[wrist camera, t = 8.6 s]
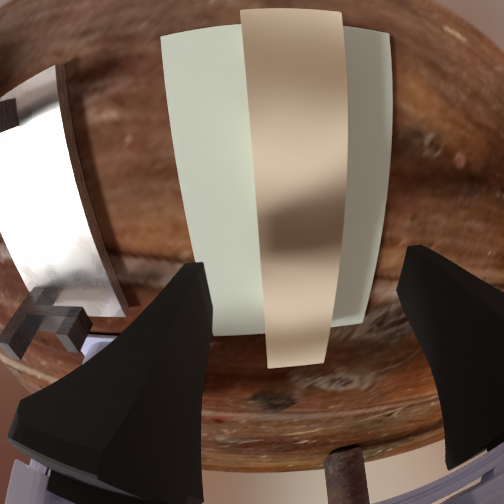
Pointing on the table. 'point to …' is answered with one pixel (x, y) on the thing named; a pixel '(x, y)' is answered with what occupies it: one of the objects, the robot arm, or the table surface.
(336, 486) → the brown tall cylinder
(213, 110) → the mat
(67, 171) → the hook stand
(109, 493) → the robot arm
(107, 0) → the table surface
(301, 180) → the rail
